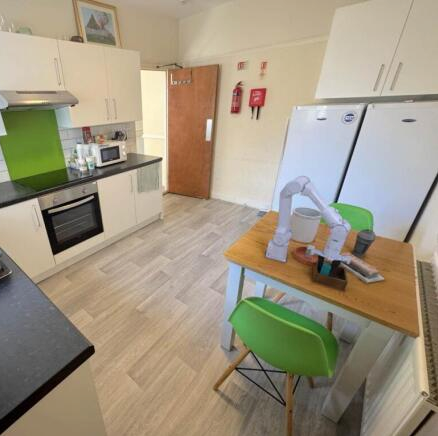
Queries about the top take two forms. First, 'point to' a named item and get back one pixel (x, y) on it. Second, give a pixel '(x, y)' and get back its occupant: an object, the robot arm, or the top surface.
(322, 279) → the box
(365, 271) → the packaged product
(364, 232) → the beverage cup
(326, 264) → the teal packet
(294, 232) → the utensil holder
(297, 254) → the bowl
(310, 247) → the silver packet
